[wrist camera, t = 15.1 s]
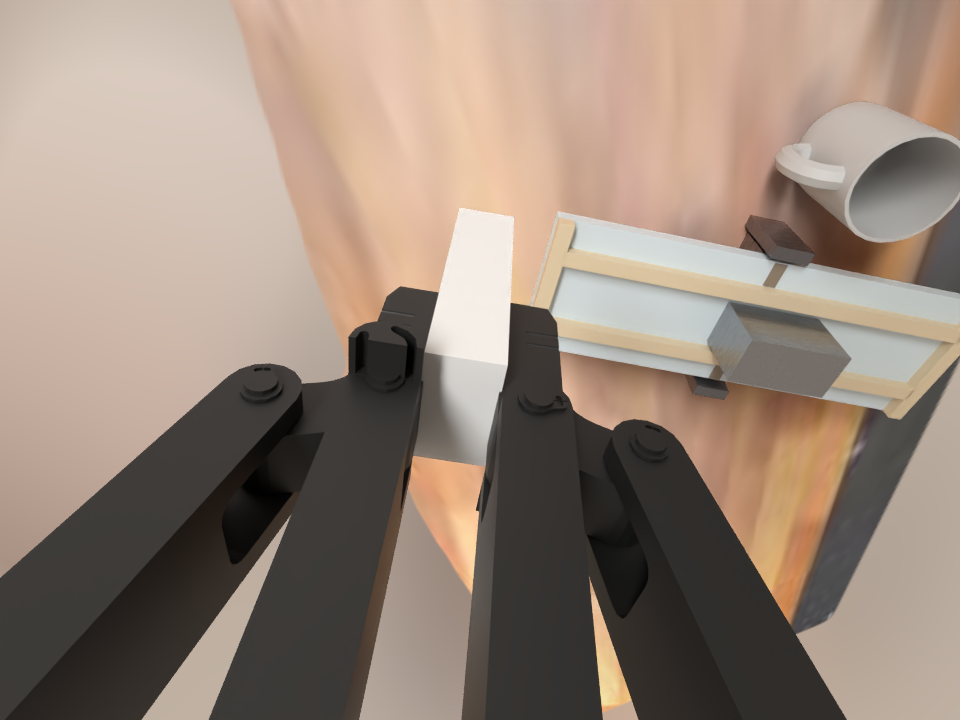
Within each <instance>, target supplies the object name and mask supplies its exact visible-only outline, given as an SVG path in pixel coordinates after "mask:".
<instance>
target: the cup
mask: <svg viewBox="0 0 960 720" xmlns="http://www.w3.org/2000/svg"><path fill="white" fill-rule="evenodd" d="M775 164H776V167H777V169H778V170H779V171H780V172H781V173H782V174H783V175H785V176H787V177H788V178H790V179H792V180H794V181H795V182H797V183H798V184H799V185H800V186H801V187H802V188H803V189H804V190H805V192H806V193H807V194H808V195H810V196H811V197H812V198H813V199H814V200H815V201H817V202H818V203H819V204H820V205H821V206H823V207H824V208H825V209H826V210H827V211H828V212H830V213H831V214H832V215H833V216H834V217H835V218H837V219H838V220H839V221H840V222H841V223H843V224H844V225H845V226H846V227H847V228H848V229H850V230H851V231H852V232H853V233H854V234H856V235H857V236H859V237H861V238H863V239H865V240H868V241H873V242H878V243H883V242H895V241H899V240H903V239H906V238H910V237H912V236H914V235H916V234H918V233H921V232H923V231H925V230H926V229H928V228H929V227H931V226H932V225H934V224H935V223H937V222H938V221H940V220H941V219H942V218H943V217H944V216H945V215H946V214H947V213H948V212H949V211H950V210H951V209H952V208H953V207H954V206H955V204H956V203H957V201H958V200H959V199H960V140H958V139H956V138H955V137H953V136H952V135H949V134H947V133H945V132H943V131H940V130H938V129H936V128H933V127H931V126H929V125H926V124H924V123H922V122H919V121H917V120H915V119H912V118H910V117H908V116H906V115H903V114H901V113H899V112H896V111H894V110H892V109H889V108H887V107H885V106H882V105H879V104H875V103H870V102H865V101H863V102H851V103H848V104H845V105H842V106H839V107H836V108H835V109H833V110H831V111H829V112H828V113H826V114H824V115H823V116H822V117H821V118H819V119H818V120H817V121H816V122H815V123H814V124H812V125H811V127H810V128H809V129H808V130H807V132H806V133H805V134H804V135H803V137H802V139H801V141H800V143H799V144H791V145H786V146H783V147H782V148H781V149H780V150H779V152H778V153H777V154H776V156H775Z"/></svg>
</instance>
